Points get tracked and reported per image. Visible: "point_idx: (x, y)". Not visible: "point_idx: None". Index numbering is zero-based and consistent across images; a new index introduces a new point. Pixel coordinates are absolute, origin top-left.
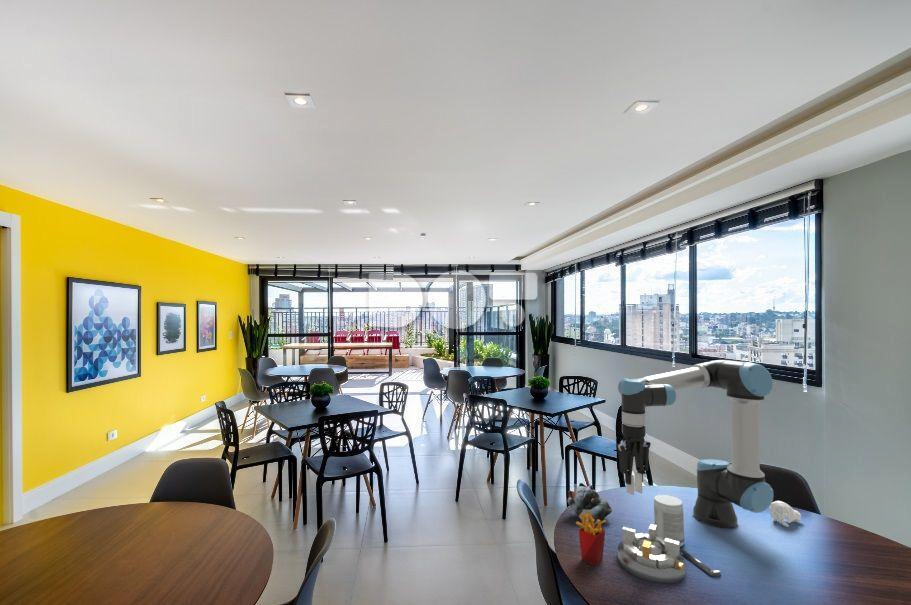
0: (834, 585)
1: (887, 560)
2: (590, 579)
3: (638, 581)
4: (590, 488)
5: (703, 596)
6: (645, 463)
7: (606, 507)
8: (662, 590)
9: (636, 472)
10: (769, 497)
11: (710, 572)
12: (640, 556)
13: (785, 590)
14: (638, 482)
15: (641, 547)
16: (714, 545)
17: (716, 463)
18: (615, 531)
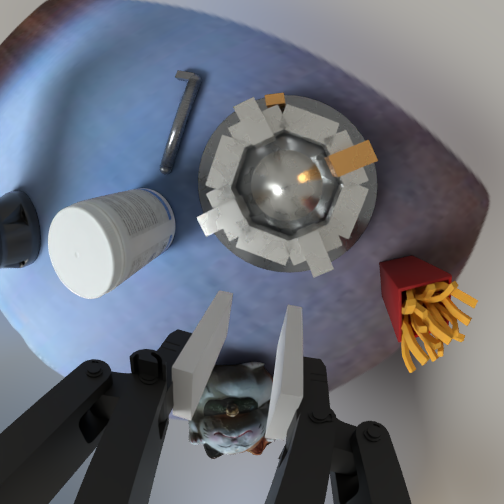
0: (68, 19)
1: None
2: (456, 229)
3: (382, 157)
4: (200, 437)
5: (295, 48)
6: (73, 415)
7: None
8: (362, 106)
9: (189, 406)
10: None
11: (199, 78)
12: (363, 170)
13: (131, 14)
14: (214, 343)
15: (321, 194)
16: (83, 160)
17: None
18: (230, 324)
